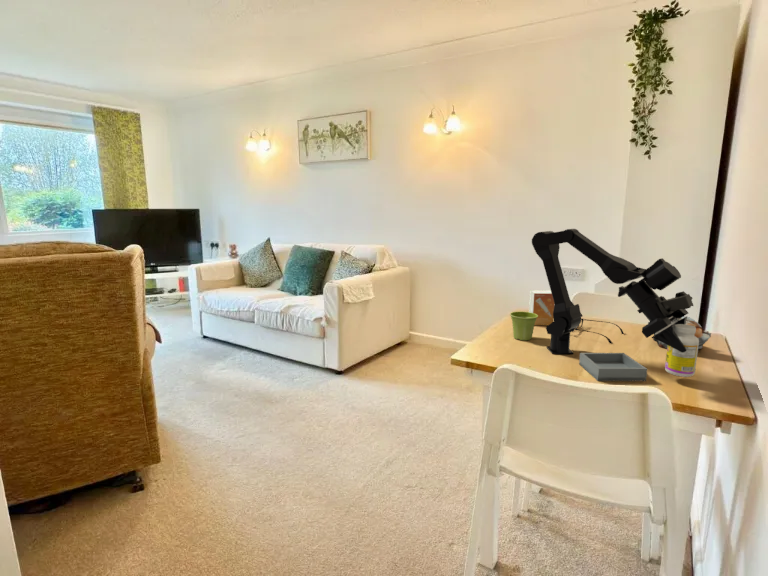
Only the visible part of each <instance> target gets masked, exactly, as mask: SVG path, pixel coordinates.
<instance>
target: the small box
mask: <svg viewBox="0 0 768 576" xmlns="http://www.w3.org/2000/svg"><path fill="white" fill-rule="evenodd" d="M553 310H554V300H553V296H552V293H551V289H550V290H546V289H545V290H543V289H542V290H541V289H537V290H534V289H533V290H531V289H530V290H529V304H528V312H531V313H535V314H537V315H538V317H537V318H536V321H535V324H534V326H547V325H550V324H551V323H552V322H554V319H553Z"/></svg>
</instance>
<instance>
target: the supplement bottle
mask: <svg viewBox="0 0 768 576" xmlns="http://www.w3.org/2000/svg"><path fill="white" fill-rule="evenodd" d="M695 332H696V327H694V326H691V325H685V324H676V325H675V333H676V334H677V336H678V337H679V339H680V340H681V342H682V343H683V345H684V347H685V348H686V351H685V352H683V353H682V352H680V351H678V350H676V349H675V348H673V347H671V346H669V345H668V347H667V349H666V354H665V355H666V356H665V363H664V364H665V365H664V370H665V371H666V372H667V373H668V374H671V375H673V376H677V377H683V378H690V377H693V376H694V375H695V374H696V367H697V361H698V354H699V353H698V352H699V349H698V346H699V339H698V338H697V337H696V336H694V334H695Z"/></svg>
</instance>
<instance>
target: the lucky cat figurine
mask: <svg viewBox="0 0 768 576" xmlns="http://www.w3.org/2000/svg"><path fill="white" fill-rule="evenodd" d="M685 317H686V315H685V316H683V317H682V319H683V318H685ZM686 325H691V326H694V327H696V332H695V334H694V336H696V337H697V338H698V339H699V346H698V350H702V349H703V346H704V345H705V344H706V343H707V342H708V340H709V339H710V338H711V337H712V333H711V332H709V331H707V330H704V329H703V327H702V326H701V324H700V323H699V322H698V321H696V320H695V319H694V318H692V317H689V316H687V320H686ZM654 335H656V334H655V333H654V334H653V336H654ZM652 340H653V342H656V344H657V346H658V347H660V348H662V349H666V350H667V347H668V345H667V344H665V343H663V342H661V341H658V340H656V339H654V338H652Z"/></svg>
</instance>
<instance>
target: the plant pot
mask: <svg viewBox="0 0 768 576" xmlns="http://www.w3.org/2000/svg"><path fill="white" fill-rule="evenodd" d="M509 316H510V318H511V323H512V333H513V338H514V339H516V340H520V341H529V340H532V338H533V333H534V328H535V325H534V324H535V321H536V318H537V317H538V315H537V314H535V313H531V312H529V311H521V310H519V311H512V312H510V313H509Z"/></svg>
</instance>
